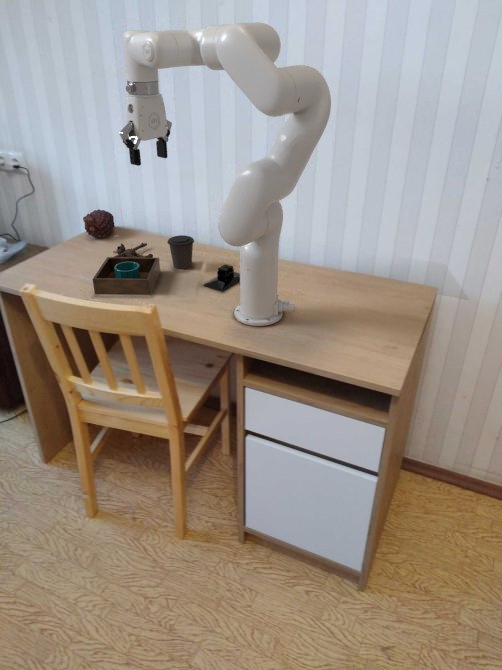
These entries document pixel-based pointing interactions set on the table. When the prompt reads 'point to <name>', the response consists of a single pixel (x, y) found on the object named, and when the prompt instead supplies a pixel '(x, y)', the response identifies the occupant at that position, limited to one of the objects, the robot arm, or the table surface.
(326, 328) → the table surface
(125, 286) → the open wooden box
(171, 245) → the coffee cup
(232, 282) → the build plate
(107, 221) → the pine cone
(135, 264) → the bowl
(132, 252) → the brown branch
